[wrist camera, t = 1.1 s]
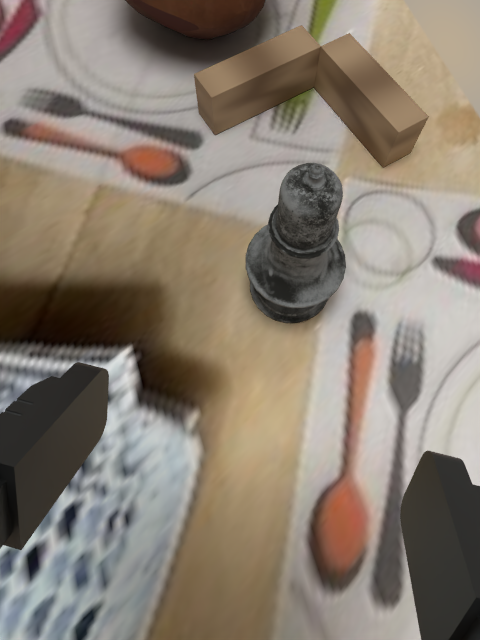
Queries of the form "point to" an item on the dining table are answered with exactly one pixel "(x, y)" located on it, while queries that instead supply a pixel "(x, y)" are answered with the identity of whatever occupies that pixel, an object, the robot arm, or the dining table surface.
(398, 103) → the v block
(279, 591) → the dining table surface
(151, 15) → the butternut squash
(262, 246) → the salt shaker
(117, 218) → the dining table surface
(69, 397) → the robot arm
